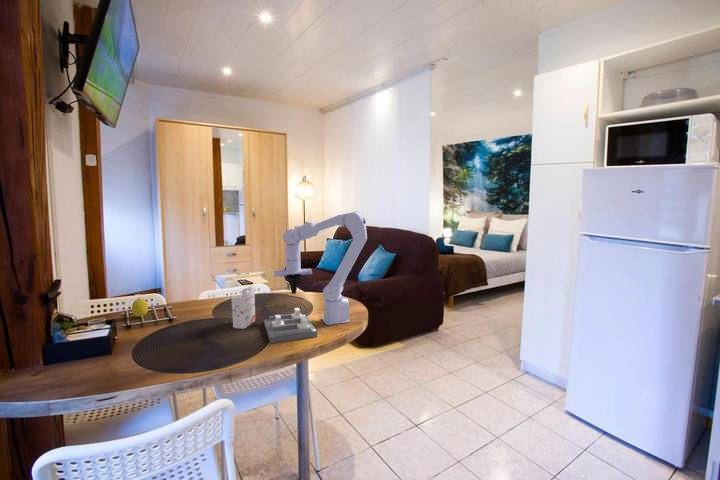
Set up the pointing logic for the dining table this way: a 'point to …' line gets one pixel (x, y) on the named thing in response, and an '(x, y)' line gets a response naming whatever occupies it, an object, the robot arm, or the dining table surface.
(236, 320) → the ink cartridge box
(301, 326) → the tab
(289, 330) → the switch panel
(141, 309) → the lemon
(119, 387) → the dining table surface
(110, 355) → the dining table surface
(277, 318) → the tab
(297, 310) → the tab
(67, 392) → the dining table surface
